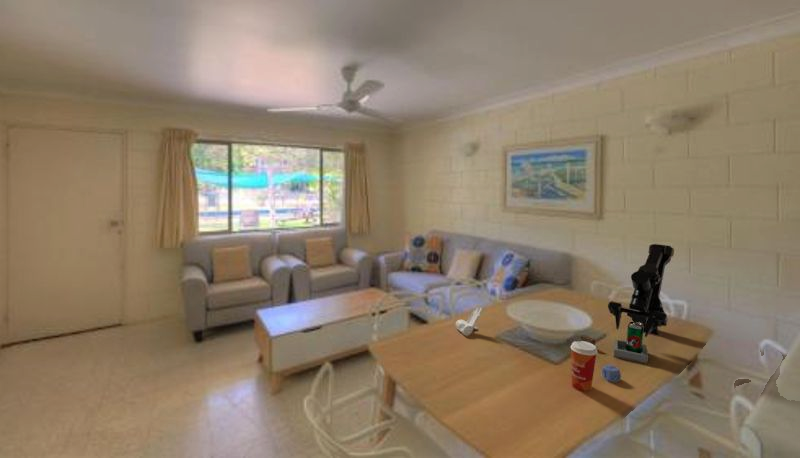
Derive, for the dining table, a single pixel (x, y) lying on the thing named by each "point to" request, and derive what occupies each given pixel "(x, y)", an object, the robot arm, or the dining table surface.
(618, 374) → the decorative dice
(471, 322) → the plastic part
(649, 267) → the robot arm
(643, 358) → the tray
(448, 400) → the dining table surface
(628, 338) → the soda can
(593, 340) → the brown rectangular block
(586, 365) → the paper cup
